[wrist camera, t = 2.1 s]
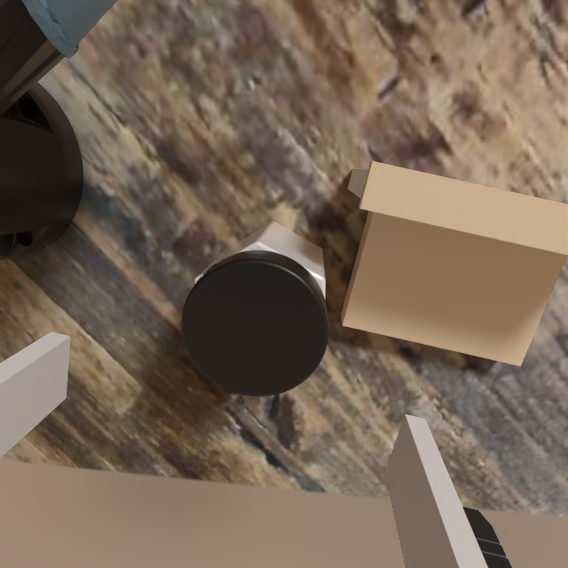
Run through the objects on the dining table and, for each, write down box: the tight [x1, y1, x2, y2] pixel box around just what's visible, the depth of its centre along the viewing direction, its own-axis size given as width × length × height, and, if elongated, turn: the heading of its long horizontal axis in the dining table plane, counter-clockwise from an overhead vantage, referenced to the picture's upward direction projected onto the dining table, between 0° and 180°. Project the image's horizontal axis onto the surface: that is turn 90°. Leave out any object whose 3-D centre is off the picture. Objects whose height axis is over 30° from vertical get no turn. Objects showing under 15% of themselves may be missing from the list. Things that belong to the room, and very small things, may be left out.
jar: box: [182, 221, 328, 397], centre depth 28 cm, size 9×8×12 cm
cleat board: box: [341, 161, 568, 366], centre depth 27 cm, size 18×12×11 cm, turn 78°
